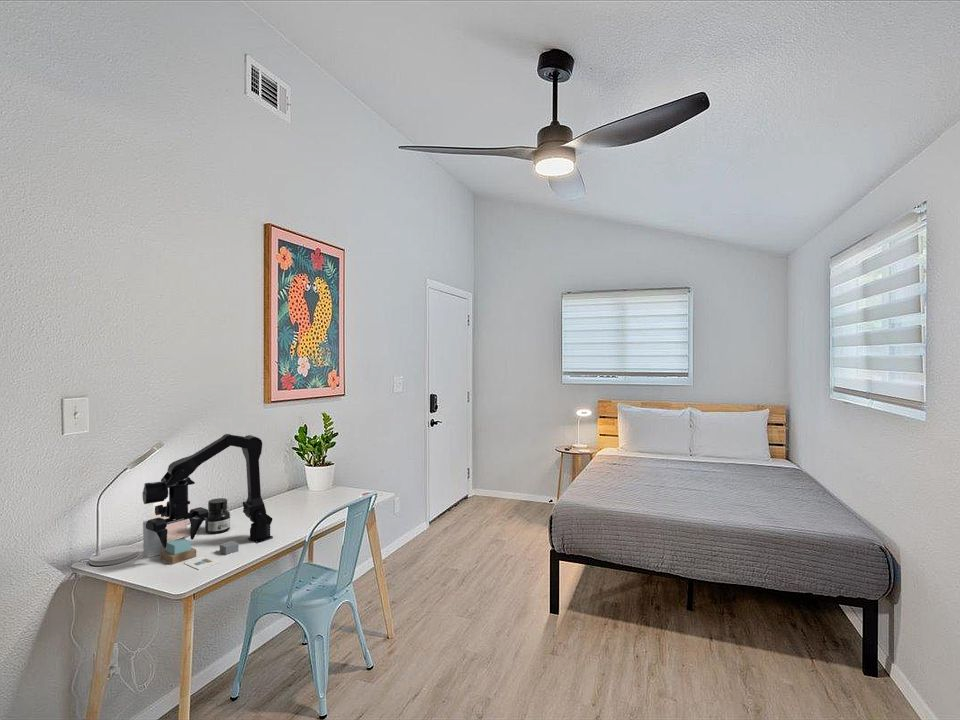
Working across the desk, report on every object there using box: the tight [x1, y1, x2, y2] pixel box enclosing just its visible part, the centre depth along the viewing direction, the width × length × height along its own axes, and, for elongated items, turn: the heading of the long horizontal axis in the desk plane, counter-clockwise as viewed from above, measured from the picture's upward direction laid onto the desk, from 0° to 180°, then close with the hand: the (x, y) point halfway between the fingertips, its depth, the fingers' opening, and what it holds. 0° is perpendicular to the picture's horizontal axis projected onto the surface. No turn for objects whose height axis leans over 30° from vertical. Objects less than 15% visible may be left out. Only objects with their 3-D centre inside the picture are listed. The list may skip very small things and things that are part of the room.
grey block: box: [219, 540, 239, 556], centre depth 187 cm, size 4×4×3 cm
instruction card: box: [183, 556, 220, 571], centre depth 176 cm, size 7×9×1 cm
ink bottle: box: [204, 497, 231, 535], centre depth 208 cm, size 10×9×12 cm
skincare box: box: [142, 517, 167, 559], centre depth 183 cm, size 6×4×12 cm
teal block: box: [166, 537, 192, 555], centre depth 181 cm, size 6×6×3 cm
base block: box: [159, 547, 197, 565], centre depth 180 cm, size 8×8×3 cm
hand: (178, 543), depth 180 cm, fingers open, 9 cm apart
